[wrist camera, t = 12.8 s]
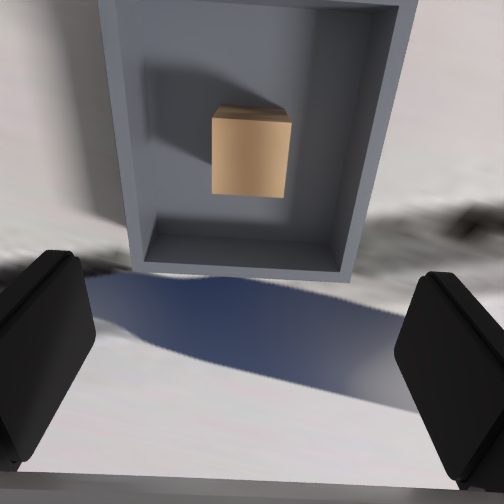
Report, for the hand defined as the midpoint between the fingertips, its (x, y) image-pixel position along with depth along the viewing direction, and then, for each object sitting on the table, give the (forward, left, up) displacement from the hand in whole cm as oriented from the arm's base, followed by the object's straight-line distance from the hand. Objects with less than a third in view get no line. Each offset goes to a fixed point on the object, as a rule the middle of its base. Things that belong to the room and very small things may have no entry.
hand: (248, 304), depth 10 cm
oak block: (0, 0, -21) cm, 21 cm away
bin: (0, 0, -22) cm, 22 cm away
